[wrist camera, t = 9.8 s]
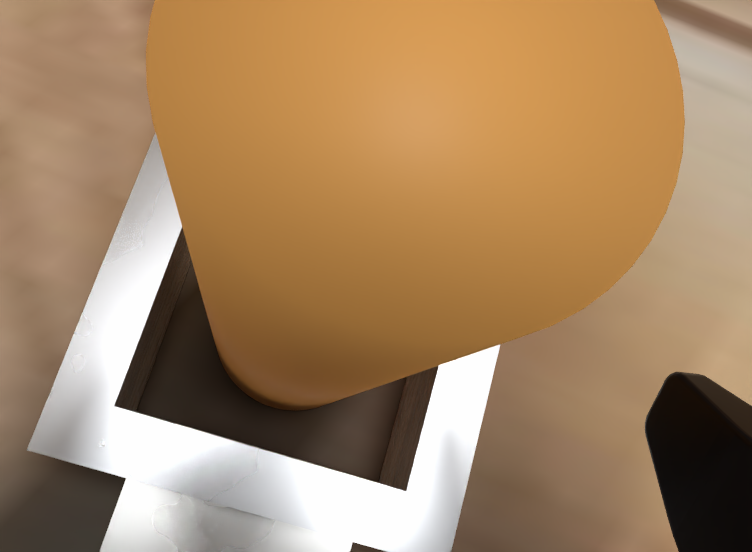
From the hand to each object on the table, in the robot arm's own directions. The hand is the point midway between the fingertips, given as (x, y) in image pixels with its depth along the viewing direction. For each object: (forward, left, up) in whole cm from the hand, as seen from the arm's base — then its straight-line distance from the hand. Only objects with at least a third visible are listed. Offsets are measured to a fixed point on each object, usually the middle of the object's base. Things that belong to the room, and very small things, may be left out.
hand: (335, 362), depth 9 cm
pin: (+2, 0, -9) cm, 9 cm away
